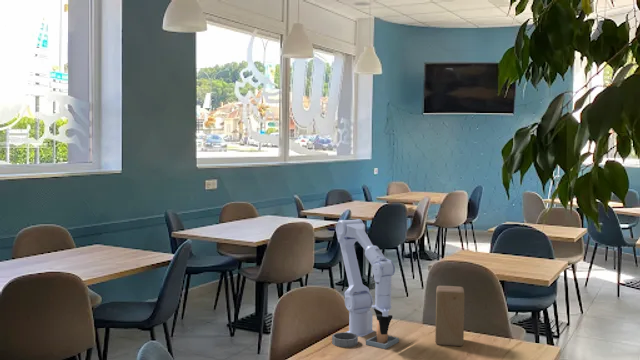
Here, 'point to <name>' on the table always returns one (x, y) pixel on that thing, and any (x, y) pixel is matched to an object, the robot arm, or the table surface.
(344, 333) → the grey round bowl
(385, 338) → the dowel
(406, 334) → the table surface
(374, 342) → the tray
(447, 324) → the wooden block
